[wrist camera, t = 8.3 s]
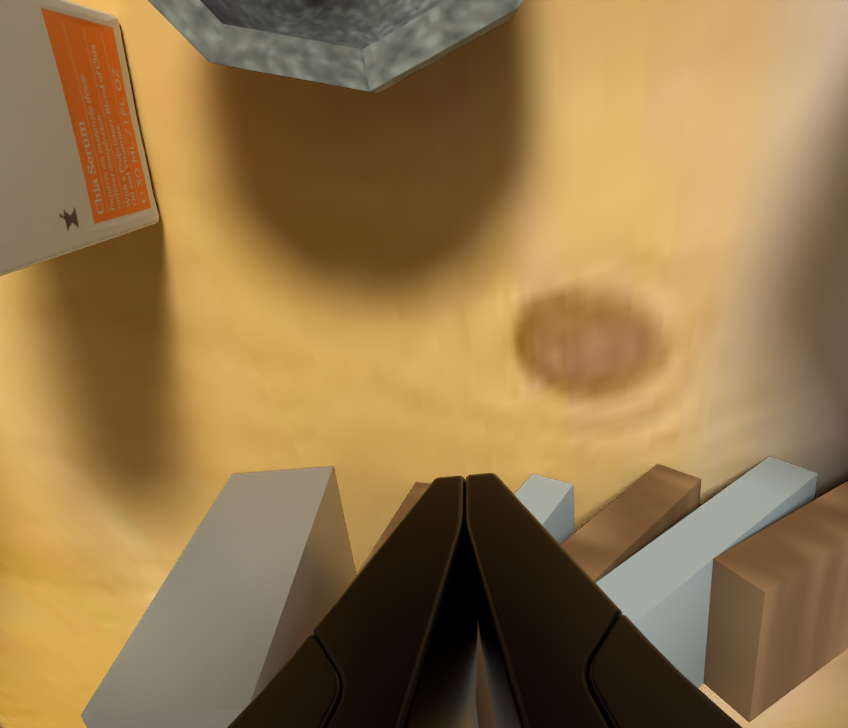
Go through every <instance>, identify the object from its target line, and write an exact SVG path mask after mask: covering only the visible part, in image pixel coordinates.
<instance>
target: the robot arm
mask: <svg viewBox="0 0 848 728" xmlns="http://www.w3.org/2000/svg"><path fill="white" fill-rule="evenodd" d="M478 627H479V634H480V641H481V647H482V653H483V659H484V664H485V669H486V674H487V679H488V685H489V690H490V695H491V700H492V705H493V710H494V715H495V720H496V725H497V728H742V727H741V726H740V725H739V724H738V723H736V722H735V721H734V720H733V719H732V718H731V717H729V716H728V715H727V714H726V713H725V712H724V711H723V710H721V709H720V708H719V707H718V706H717V705H716V704H715V703H714V702H713V701H712V700H710V699H709V698H708V697H707V696H706V695H705V694H704V693H703V692H702V691H701V690H699V689H698V688H697V687H696V686H695V685H694V684H693V683H692V682H691V681H690V680H688V679H687V678H686V677H685V676H684V675H683V674H682V673H681V672H680V671H679V670H678V669H677V668H676V667H675V666H674V665H673V664H672V663H671V662H670V661H669V660H668V659H667V658H666V657H665V656H664V655H663V654H662V653H661V652H660V651H659V650H658V649H657V648H656V647H655V646H654V645H653V644H652V643H651V642H650V641H649V640H648V639H647V638H646V637H645V636H644V635H643V634H642V632H641V631H640V630H639V629H638V628H637V627H636V626H635V625H634V624H633V623H632V621H631V620H630V619H629V618H628V617H627V616H626V615H622V611H621V610H620V609H619V608H618V607H617V606H616V604H615V603H614V602H613V601H612V600H611V599H610V598H609V597H608V596H607V595H606V594H605V593H604V591H603V590H602V589H601V588H600V587H599V586H598V585H597V584H596V583H595V582H594V581H593V580H592V578H591V577H590V576H589V575H588V574H587V573H586V572H585V571H584V570H583V569H582V568H581V567H580V565H579V564H578V563H577V562H576V561H575V560H574V559H573V558H572V557H571V556H570V555H569V553H568V552H567V551H566V550H565V549H564V548H563V547H562V546H561V545H560V544H559V543H558V542H557V540H556V539H555V538H554V537H553V536H552V535H551V534H550V533H549V532H548V531H547V530H546V529H545V527H544V526H543V525H542V524H541V523H540V522H539V521H538V520H537V519H536V518H535V517H534V516H533V514H532V513H531V512H530V511H529V510H528V509H527V508H526V507H525V506H524V505H523V504H522V503H521V501H520V500H519V499H518V498H517V497H516V496H515V495H514V494H513V493H512V492H511V491H510V490H509V488H508V487H507V486H506V485H505V484H504V483H503V482H502V481H501V480H500V479H499V478H498V477H497V475H495V474H493V473H485V474H474V475H469V476H467V477H466V480H465V479H464V477H462V476H451V477H439V478H436V479H435V480H434V481H433V482H432V483H431V484H430V486H429V487H428V488H427V489H426V491H425V492H424V493H423V494H422V495H421V497H420V498H419V499H418V500H417V502H416V503H415V504H414V505H413V507H412V508H411V509H410V510H409V512H408V513H407V514H406V515H405V516H404V518H403V519H402V520H401V521H400V523H399V524H398V525H397V526H396V528H395V529H394V530H393V531H392V533H391V534H390V535H389V536H388V537H387V539H386V540H385V541H384V542H383V544H382V545H381V546H380V547H379V549H378V550H377V551H376V552H375V554H374V555H373V556H372V557H371V558H370V560H369V561H368V562H367V563H366V565H365V566H364V567H363V568H362V570H361V571H360V572H359V573H358V575H357V576H356V577H355V578H354V579H353V581H352V582H351V583H350V584H349V586H348V587H347V588H346V589H345V591H344V592H343V593H342V594H341V596H340V597H339V598H338V599H337V600H336V602H335V603H334V604H333V605H332V607H331V608H330V609H329V610H328V612H327V613H326V614H325V615H324V617H323V618H322V619H321V620H320V621H319V623H318V624H317V625H316V626H315V628H314V629H313V631H312V634H313V635H312V634H310V635H308V636H307V637H306V638H305V640H304V641H303V642H302V643H301V645H300V646H299V647H298V648H297V649H296V651H295V652H294V653H293V654H292V656H291V657H290V658H289V659H288V660H287V662H286V663H285V664H284V665H283V666H282V667H281V669H280V670H279V671H278V672H277V673H276V674H275V676H274V677H273V678H272V679H271V680H270V681H269V683H268V684H267V685H266V686H265V687H264V688H263V690H262V691H261V692H260V693H259V694H258V695H257V696H256V697H255V698H254V699H253V700H252V701H251V703H250V704H249V705H248V706H247V707H246V708H245V709H244V710H243V711H242V712H241V713H240V714H239V715H238V716H237V717H236V718H235V719H234V721H233V722H232V723H231V724H230V725H229V726H228V727H227V728H474V714H475V698H476V681H477V664H478Z"/></svg>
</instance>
